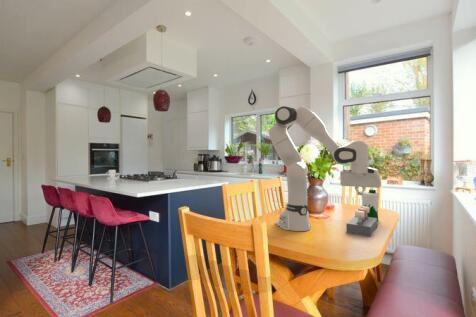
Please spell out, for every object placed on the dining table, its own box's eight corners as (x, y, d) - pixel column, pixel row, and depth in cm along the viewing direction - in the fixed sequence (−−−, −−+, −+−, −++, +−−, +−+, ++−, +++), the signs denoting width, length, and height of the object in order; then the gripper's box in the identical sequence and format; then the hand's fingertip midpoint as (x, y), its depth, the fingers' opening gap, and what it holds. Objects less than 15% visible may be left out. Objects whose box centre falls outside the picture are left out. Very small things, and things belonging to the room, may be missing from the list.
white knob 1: (363, 225, 136) (363, 212, 136) (354, 224, 139) (354, 211, 139) (365, 223, 140) (365, 211, 140) (356, 222, 143) (356, 210, 143)
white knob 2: (368, 219, 149) (368, 208, 149) (360, 218, 152) (360, 207, 152) (370, 218, 153) (370, 206, 153) (361, 217, 156) (361, 206, 155)
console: (370, 236, 133) (370, 226, 133) (346, 232, 140) (346, 223, 140) (377, 226, 152) (377, 218, 152) (355, 223, 159) (355, 215, 159)
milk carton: (380, 221, 164) (380, 190, 164) (369, 222, 161) (369, 191, 161) (369, 218, 172) (369, 189, 172) (359, 219, 169) (359, 189, 169)
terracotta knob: (366, 222, 143) (366, 210, 143) (357, 221, 145) (357, 209, 145) (367, 220, 146) (367, 209, 146) (359, 219, 149) (359, 208, 149)
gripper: (338, 169, 143) (339, 194, 143) (379, 170, 131) (380, 197, 131) (341, 169, 148) (341, 192, 148) (381, 169, 136) (381, 195, 136)
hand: (360, 194), depth 139 cm, fingers closed
